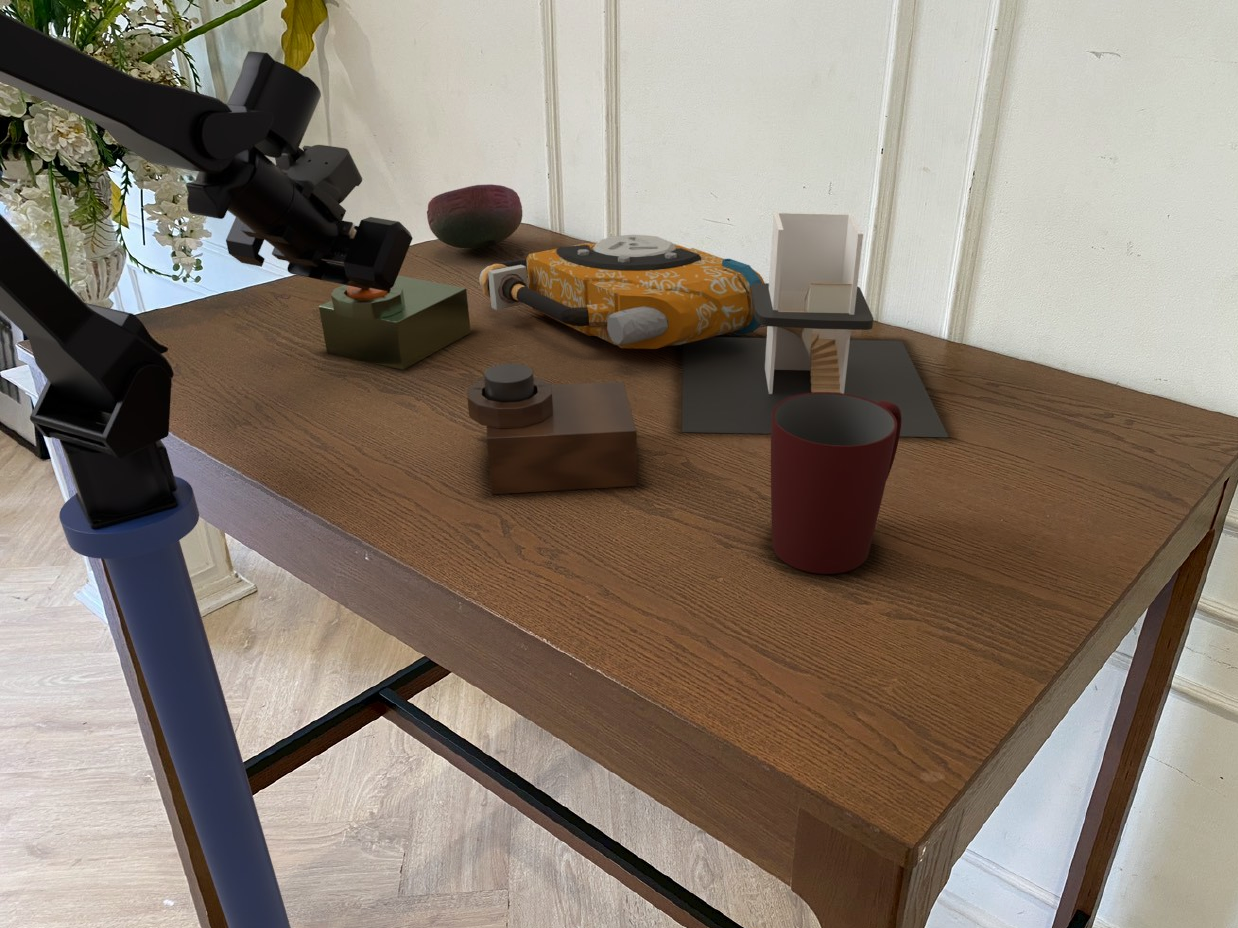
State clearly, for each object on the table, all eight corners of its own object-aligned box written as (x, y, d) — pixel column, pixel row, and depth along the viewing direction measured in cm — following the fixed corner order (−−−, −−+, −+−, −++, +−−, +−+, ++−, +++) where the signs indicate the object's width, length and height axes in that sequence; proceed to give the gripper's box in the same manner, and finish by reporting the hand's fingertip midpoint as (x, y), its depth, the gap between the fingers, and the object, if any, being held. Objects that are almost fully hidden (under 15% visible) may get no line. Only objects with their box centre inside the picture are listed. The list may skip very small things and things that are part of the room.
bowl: (542, 227, 133) (531, 169, 134) (446, 224, 126) (436, 164, 127) (503, 272, 147) (493, 220, 147) (415, 272, 140) (406, 217, 141)
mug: (840, 494, 85) (855, 372, 79) (926, 538, 79) (949, 410, 73) (738, 544, 78) (746, 413, 72) (825, 595, 72) (840, 459, 66)
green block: (394, 375, 103) (384, 309, 99) (317, 357, 106) (305, 293, 103) (470, 332, 114) (465, 271, 110) (398, 318, 117) (390, 258, 113)
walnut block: (473, 495, 83) (465, 418, 79) (475, 440, 91) (468, 368, 88) (636, 486, 85) (636, 410, 81) (624, 433, 93) (623, 362, 90)
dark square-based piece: (681, 432, 94) (685, 258, 85) (683, 336, 115) (685, 188, 106) (948, 437, 94) (979, 264, 86) (902, 341, 115) (922, 194, 106)
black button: (485, 406, 82) (483, 383, 81) (485, 386, 85) (483, 364, 84) (535, 404, 83) (533, 381, 82) (533, 384, 86) (532, 362, 85)
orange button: (372, 316, 102) (369, 296, 101) (341, 309, 104) (338, 290, 103) (397, 304, 106) (395, 285, 105) (367, 298, 107) (364, 279, 106)
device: (607, 307, 96) (459, 241, 116) (610, 387, 100) (467, 310, 120) (781, 265, 108) (620, 212, 128) (777, 339, 113) (622, 276, 133)
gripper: (384, 131, 87) (471, 227, 102) (221, 110, 94) (325, 204, 108) (337, 245, 85) (432, 327, 100) (174, 216, 92) (286, 297, 106)
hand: (367, 284), depth 104 cm, fingers closed, pressing on orange button
